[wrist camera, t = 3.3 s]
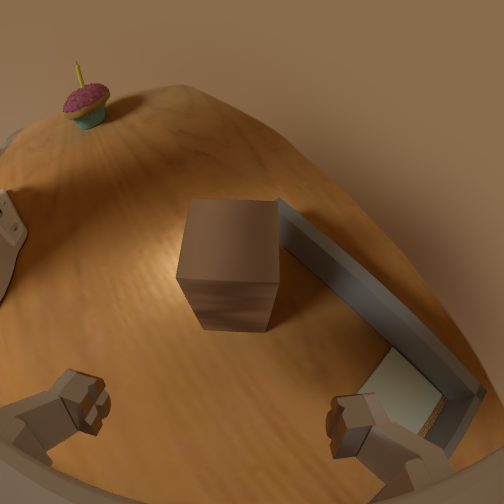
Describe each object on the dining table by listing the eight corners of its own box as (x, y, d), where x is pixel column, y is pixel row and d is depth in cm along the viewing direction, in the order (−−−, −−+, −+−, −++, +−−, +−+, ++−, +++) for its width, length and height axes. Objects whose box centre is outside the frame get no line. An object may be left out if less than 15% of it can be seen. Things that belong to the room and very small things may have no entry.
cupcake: (74, 119, 39) (55, 67, 29) (115, 103, 41) (101, 48, 30) (69, 143, 35) (45, 84, 25) (115, 124, 37) (97, 60, 26)
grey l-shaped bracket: (105, 358, 20) (82, 348, 16) (274, 224, 27) (278, 197, 24) (316, 557, 11) (327, 577, 7) (459, 396, 18) (486, 390, 14)
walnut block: (203, 329, 22) (175, 278, 13) (209, 274, 24) (190, 198, 16) (265, 332, 22) (279, 282, 13) (266, 276, 24) (277, 201, 16)
